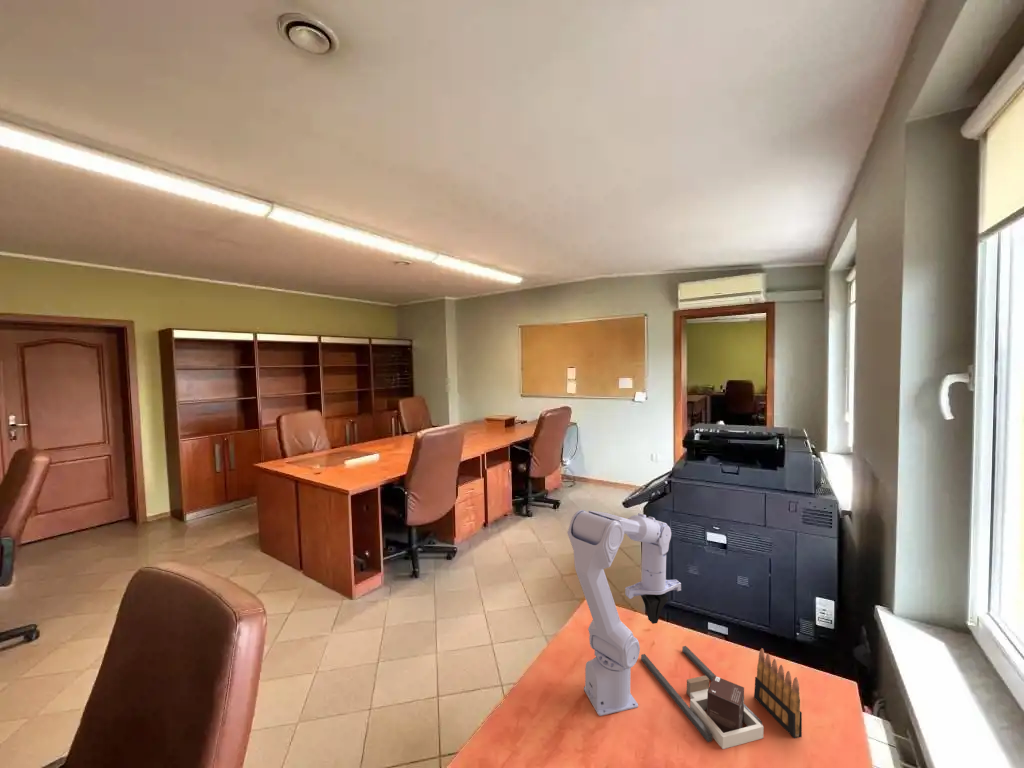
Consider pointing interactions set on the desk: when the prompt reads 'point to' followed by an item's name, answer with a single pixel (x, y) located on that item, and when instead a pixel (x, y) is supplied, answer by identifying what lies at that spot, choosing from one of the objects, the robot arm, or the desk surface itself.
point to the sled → (698, 704)
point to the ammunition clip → (778, 694)
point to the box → (725, 704)
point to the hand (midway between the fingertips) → (652, 621)
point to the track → (676, 696)
